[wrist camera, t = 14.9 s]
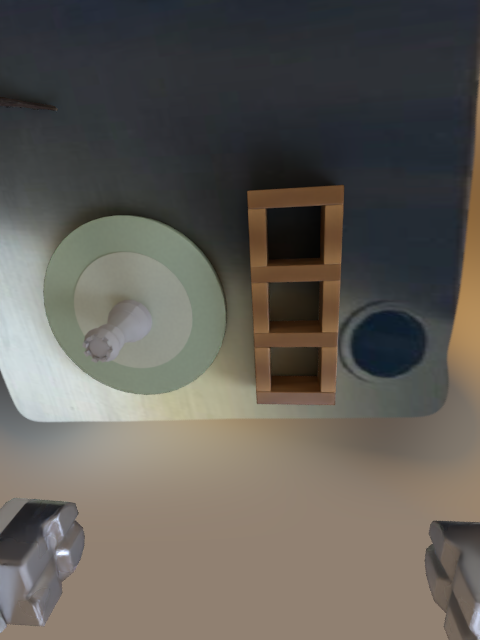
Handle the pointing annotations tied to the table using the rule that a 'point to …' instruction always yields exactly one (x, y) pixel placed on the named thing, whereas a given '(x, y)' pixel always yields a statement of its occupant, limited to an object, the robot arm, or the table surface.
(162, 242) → the plate
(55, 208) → the table surface
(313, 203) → the rack
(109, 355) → the rook chess piece
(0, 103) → the dinosaur model
